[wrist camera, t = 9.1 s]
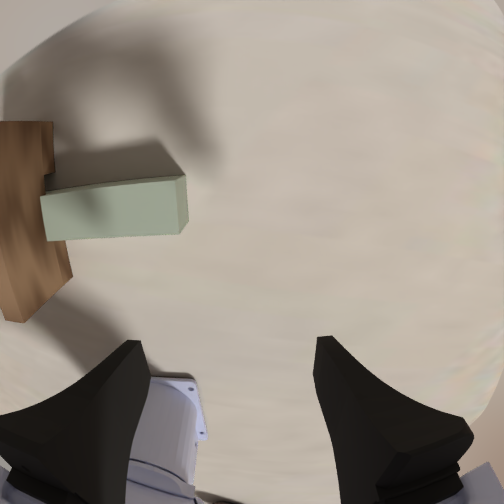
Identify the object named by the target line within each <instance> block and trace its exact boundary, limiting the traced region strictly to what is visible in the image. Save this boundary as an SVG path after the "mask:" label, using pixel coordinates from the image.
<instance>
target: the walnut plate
mask: <svg viewBox="0 0 504 504" xmlns="http://www.w3.org/2000/svg"><path fill="white" fill-rule="evenodd" d="M54 172H55V163H54V148H53V122H43V121H0V307H1V310H2V313H3V315H4V318H5V320H6V321H13V322H19V323H25V322H26V321H27V320H28V319H29V318H30V317H31V316H32V315H33V314H34V313H35V312H36V311H37V310H38V309H39V308H40V307H41V306H42V305H43V304H44V303H45V302H46V301H47V300H48V299H49V298H51V297H52V296H53V295H54V294H55V293H56V292H57V291H58V290H59V289H60V288H61V287H62V286H63V285H64V284H65V283H67V282H68V281H69V280H70V279H71V278H72V277H73V275H72V271H71V266H70V262H69V257H68V253H67V248H66V243H65V240H61V241H47V237H46V232H45V226H44V221H43V215H42V208H41V201H40V196H43V195H46V191H45V182H44V175H45V174H49V173H54Z"/></svg>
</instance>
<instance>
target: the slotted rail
mask: <svg viewBox="0 0 504 504" xmlns="http://www.w3.org/2000/svg"><path fill="white" fill-rule="evenodd" d="M40 201H41V208H42V215H43V221H44V226H45V232H46V237H47V241H61V240H77V239H94V238H112V237H132V236H153V235H175V234H180V233H181V231H182V230H183V228H184V227H185V226H186V224H187V223H188V221H189V217H188V204H187V189H186V175H179V176H166V177H154V178H144V179H134V180H125V181H116V182H108V183H100V184H92V185H85V186H78V187H72V188H65V189H59V190H53V191H47V192H46V195H43V196H40Z"/></svg>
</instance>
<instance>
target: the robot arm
mask: <svg viewBox="0 0 504 504" xmlns="http://www.w3.org/2000/svg"><path fill="white" fill-rule="evenodd" d="M313 377H314V383H315V388H316V393H317V397H318V400H319V403H320V406H321V409H322V413H323V416H324V419H325V422H326V425H327V428H328V431H329V434H330V438H331V442H332V446H333V451H334V457H335V462H336V469H337V475H338V482H339V490H340V499H341V504H504V489H503V487H502V485H501V483H500V482H499V480H498V478H497V476H496V474H495V472H494V470H493V468H492V467H491V465H490V463H489V462H486V463H484V464H482V465H480V466H479V467H477V468H475V469H473V470H471V471H470V472H468V473H466V474H465V475H463V476H462V477H460V478H459V476H458V473H457V472H458V471H459V470H460V467H459V465H458V463H457V461H459V459H460V458H461V457H462V456H463V455H464V454H465V452H466V451H467V450H468V449H469V447H470V446H471V444H472V442H473V439H474V435H473V433H472V431H471V429H470V428H469V426H468V424H467V423H466V421H465V420H464V418H463V417H459V416H455V415H452V414H448V413H445V412H441V411H438V410H436V409H433V408H431V407H428V406H426V405H423V404H421V403H419V402H417V401H415V400H413V399H411V398H409V397H407V396H405V395H403V394H401V393H400V392H398V391H396V390H395V389H393V388H392V387H390V386H389V385H387V384H386V383H384V382H383V381H381V380H380V379H379V378H377V377H376V376H375V375H374V374H372V373H371V372H370V371H369V370H367V369H366V368H365V367H364V366H363V365H362V364H361V363H360V362H358V361H357V360H356V359H355V358H354V357H353V356H352V355H351V354H350V353H349V352H348V351H347V350H346V349H345V348H344V347H343V346H342V345H341V344H340V343H339V342H338V341H337V340H336V339H335V338H334V337H333V336H322V337H317V344H316V353H315V361H314V369H313ZM190 387H192V388H190ZM207 439H208V433H207V429H206V424H205V420H204V416H203V411H202V407H201V402H200V397H199V393H198V388H197V383H196V381H195V380H193V379H184V378H163V377H151V374H150V371H149V368H148V364H147V361H146V358H145V354H144V351H143V347H142V344H141V341H139V340H127V341H126V342H124V343H123V344H122V345H121V346H119V347H118V348H117V349H116V350H115V351H114V352H113V353H111V354H110V355H109V356H108V357H107V358H106V359H105V360H103V361H102V362H101V363H100V364H99V365H98V366H96V367H95V368H94V369H93V370H91V371H90V372H89V373H88V374H86V375H85V376H84V377H82V378H81V379H80V380H78V381H77V382H76V383H74V384H73V385H71V386H70V387H68V388H66V389H65V390H63V391H62V392H60V393H58V394H56V395H54V396H52V397H50V398H48V399H46V400H44V401H42V402H40V403H38V404H35V405H33V406H30V407H28V408H25V409H22V410H19V411H15V412H12V413H8V414H4V415H0V455H1V457H2V458H3V459H4V460H5V461H6V462H7V463H8V464H9V465H10V466H11V467H12V469H11V471H10V472H9V471H8V470H6V469H5V468H3V467H2V466H0V504H204V502H203V501H202V499H201V498H199V497H195V496H194V494H195V486H193V482H194V475H195V466H196V457H197V449H198V440H207Z"/></svg>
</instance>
